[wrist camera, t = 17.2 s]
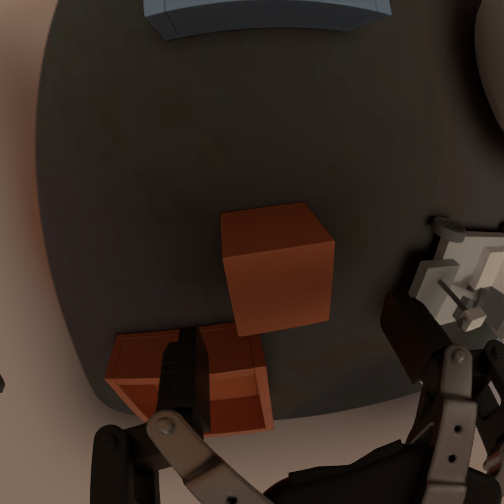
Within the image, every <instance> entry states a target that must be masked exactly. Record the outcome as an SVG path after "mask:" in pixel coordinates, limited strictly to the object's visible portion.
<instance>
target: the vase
mask: <svg viewBox="0 0 504 504" xmlns="http://www.w3.org/2000/svg"><path fill="white" fill-rule="evenodd" d="M475 55H476V61H477V67H478V71H479V75H480V79H481V83H482V86H483V88H484V91H485V94H486V97H487V99H488V102H489V104H490V107H491V109H492V111H493V113H494V115H495V117H496V120H497V122H498V124H499V126H500V127H501V129H502V130H503V132H504V0H482V2H481V5H480V7H479V10H478V12H477V15H476V22H475Z"/></svg>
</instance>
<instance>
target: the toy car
mask: <svg viewBox="0 0 504 504" xmlns="http://www.w3.org/2000/svg"><path fill="white" fill-rule="evenodd" d="M431 228H432V230H433V232H434V233H436V234H437V235H438V236H440V237H441V238H440V242H439V245H438V247H437V250H436V253H435V256H434V259H433V260H427V261H420V264H419V267H418V269H417V272H416V275H415V277H414V280H413V282H412V285H411V287H410V290H409V292H408V294H409V295H410V297H411V298H413V297H415V298H416V299H418V300H419V301H421V302H422V303H423V304H424V305H425V306H426V307H427V309H428V310H429V311H430V313H431V314H432V315H433V317H434V319H435V320H436V321H437V322H438V323H439V325H443V324H446V323H450V322H453V321H457V326H458V327H459V328H461V327H462V328H463V330H464V331H465V332H467V331H470V330H472V329H475V328H478V327H480V326H481V325H482V323H483V322H485V323H486V324H487V325H489V326H490V328H491V329H492V330H493V331H494V332H495V334H496V335H497V336H498V338H499V339H500V340H501V341H503V340H504V233H499V232H474V231H466V229H465V228H464V227H463V226H462V225H460V224H459V223H457V222H455V221H453V220H451V219H449V218H445V217H440V216H437V217H434V219H433V222H432V226H431ZM502 231H503V232H504V224H503V227H502ZM420 383H422V381H421V382H420ZM422 384H423V383H422Z"/></svg>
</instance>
